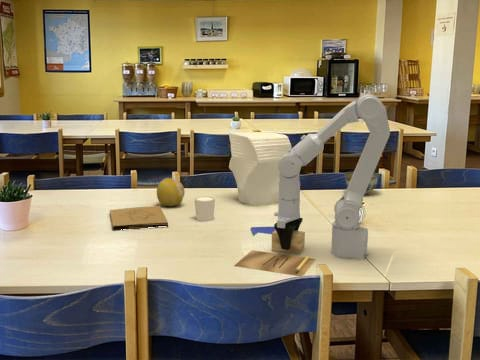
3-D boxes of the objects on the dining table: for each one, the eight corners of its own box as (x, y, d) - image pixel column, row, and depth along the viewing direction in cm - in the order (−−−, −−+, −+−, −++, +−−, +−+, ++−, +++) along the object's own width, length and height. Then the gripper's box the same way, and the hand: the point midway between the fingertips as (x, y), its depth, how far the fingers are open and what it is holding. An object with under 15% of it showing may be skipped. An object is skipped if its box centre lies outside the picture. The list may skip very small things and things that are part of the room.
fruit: (167, 210, 194) (167, 183, 192) (151, 204, 202) (150, 178, 200) (191, 206, 201) (190, 179, 199) (174, 200, 209) (173, 174, 207)
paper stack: (224, 197, 215) (224, 131, 209) (288, 192, 223) (290, 129, 217) (240, 210, 195) (241, 139, 190) (310, 205, 203) (312, 136, 198)
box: (109, 214, 191) (109, 208, 190) (160, 211, 195) (159, 205, 195) (112, 232, 171) (111, 225, 170) (168, 228, 175) (168, 222, 175)
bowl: (352, 188, 231) (353, 169, 230) (382, 192, 224) (384, 173, 222) (338, 194, 220) (338, 175, 219) (369, 199, 213) (370, 179, 211)
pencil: (306, 258, 144) (307, 255, 144) (309, 258, 144) (309, 256, 144) (294, 273, 134) (294, 270, 134) (297, 273, 134) (297, 270, 134)
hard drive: (283, 238, 162) (276, 226, 174) (255, 239, 161) (250, 226, 173) (283, 243, 162) (276, 230, 174) (255, 244, 161) (250, 231, 173)
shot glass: (219, 218, 185) (219, 198, 183) (204, 223, 180) (204, 202, 178) (205, 214, 189) (205, 195, 188) (190, 218, 185) (190, 198, 183)
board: (315, 263, 144) (316, 259, 144) (302, 281, 132) (302, 276, 132) (251, 254, 151) (252, 250, 151) (233, 270, 139) (233, 265, 139)
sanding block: (304, 250, 152) (304, 231, 150) (299, 255, 147) (300, 236, 146) (276, 247, 154) (277, 228, 153) (271, 252, 150) (271, 233, 149)
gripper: (283, 191, 156) (282, 236, 159) (266, 203, 143) (265, 252, 146) (307, 193, 153) (306, 239, 156) (292, 205, 140) (291, 256, 143)
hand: (288, 246), depth 151 cm, fingers closed on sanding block, 4 cm apart
